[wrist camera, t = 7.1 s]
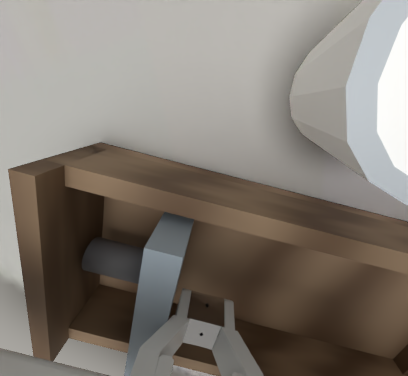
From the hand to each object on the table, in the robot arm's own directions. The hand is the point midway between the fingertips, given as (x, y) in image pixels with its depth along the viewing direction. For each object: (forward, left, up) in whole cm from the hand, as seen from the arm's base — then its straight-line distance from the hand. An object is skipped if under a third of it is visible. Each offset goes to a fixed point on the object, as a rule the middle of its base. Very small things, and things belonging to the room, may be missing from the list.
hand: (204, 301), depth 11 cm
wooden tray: (-4, 0, -4) cm, 6 cm away
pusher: (+4, 0, -3) cm, 5 cm away
